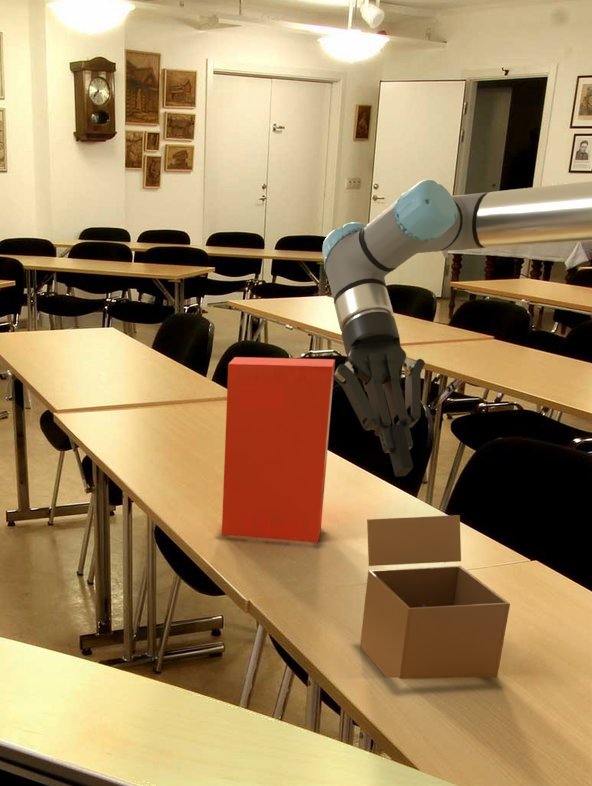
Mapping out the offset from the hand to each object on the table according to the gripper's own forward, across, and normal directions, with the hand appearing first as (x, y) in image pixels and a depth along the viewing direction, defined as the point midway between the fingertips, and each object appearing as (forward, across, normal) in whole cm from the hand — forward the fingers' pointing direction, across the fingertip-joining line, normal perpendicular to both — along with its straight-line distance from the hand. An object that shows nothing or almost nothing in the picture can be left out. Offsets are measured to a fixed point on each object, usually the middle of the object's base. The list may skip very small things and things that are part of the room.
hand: (404, 471), depth 124 cm
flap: (+10, 0, -1) cm, 10 cm away
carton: (+26, +1, -6) cm, 26 cm away
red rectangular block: (-9, +4, -46) cm, 47 cm away
